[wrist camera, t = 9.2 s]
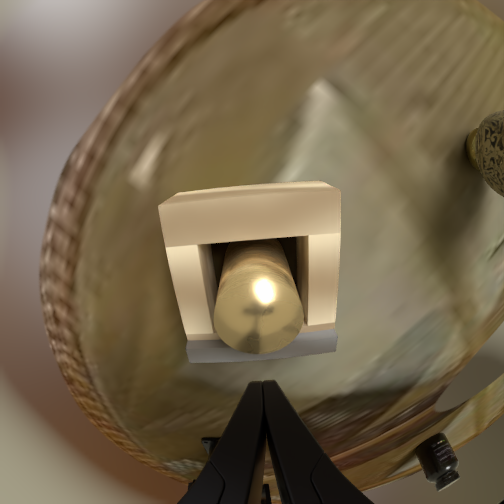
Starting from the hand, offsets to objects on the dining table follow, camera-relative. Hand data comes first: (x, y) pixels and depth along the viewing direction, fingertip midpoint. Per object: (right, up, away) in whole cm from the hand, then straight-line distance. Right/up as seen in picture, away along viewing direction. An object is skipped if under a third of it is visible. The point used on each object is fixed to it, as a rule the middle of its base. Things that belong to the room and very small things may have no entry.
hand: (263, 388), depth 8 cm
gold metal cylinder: (0, +4, +10) cm, 11 cm away
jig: (0, +4, +10) cm, 11 cm away
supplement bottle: (+34, -32, +25) cm, 53 cm away
